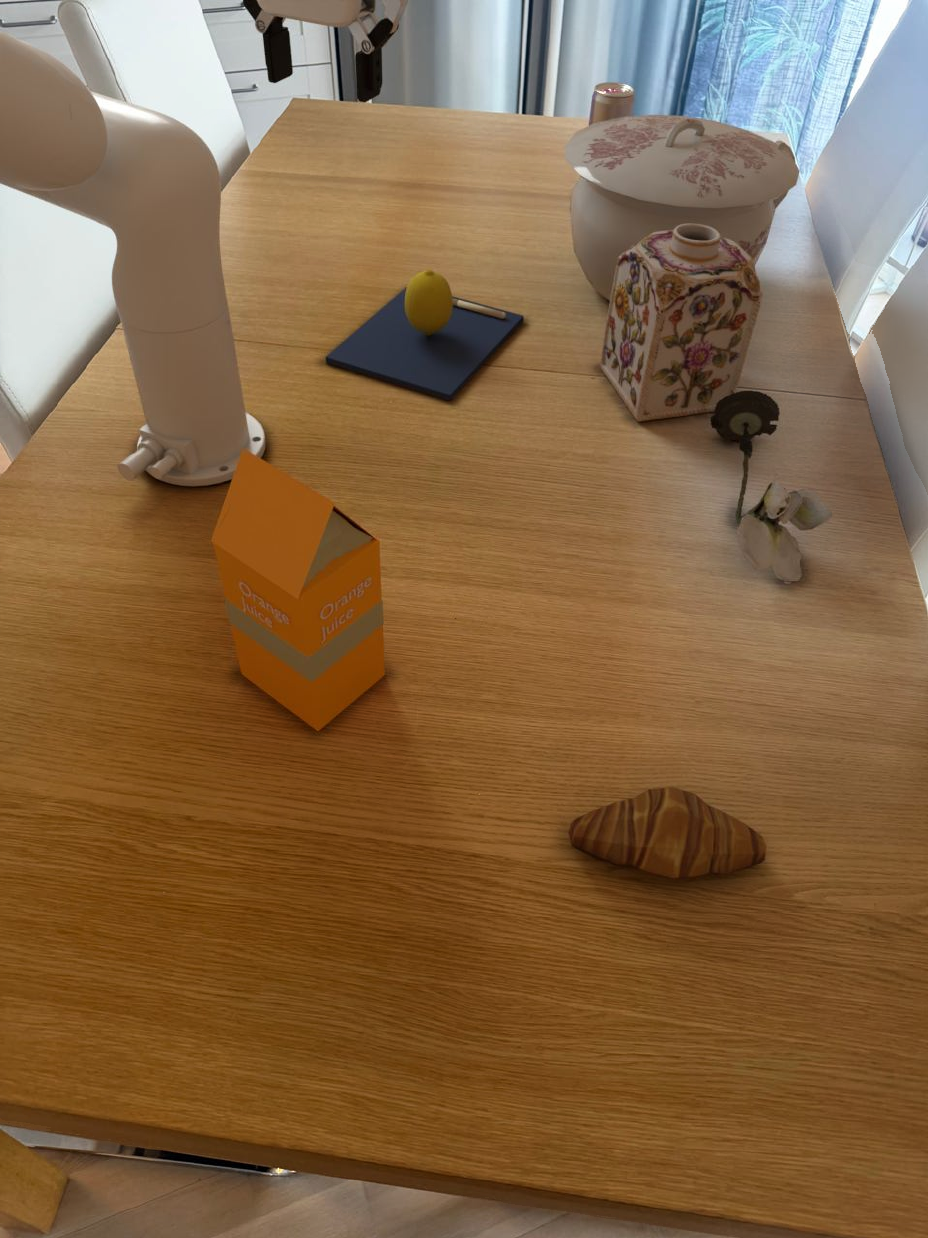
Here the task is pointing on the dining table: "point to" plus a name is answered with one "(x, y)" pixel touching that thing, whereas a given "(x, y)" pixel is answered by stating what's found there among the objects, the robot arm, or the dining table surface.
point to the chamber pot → (671, 185)
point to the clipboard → (426, 347)
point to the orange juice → (299, 592)
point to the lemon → (428, 302)
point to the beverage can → (611, 102)
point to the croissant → (668, 835)
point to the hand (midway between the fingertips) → (324, 88)
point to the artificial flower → (767, 490)
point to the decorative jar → (679, 322)
